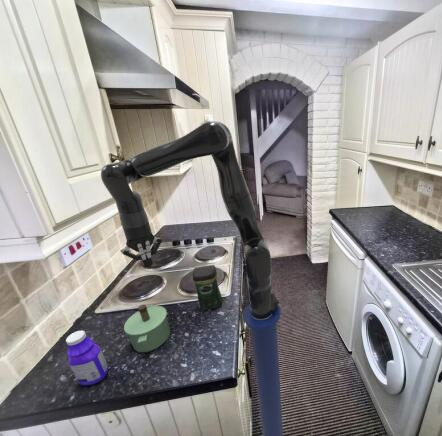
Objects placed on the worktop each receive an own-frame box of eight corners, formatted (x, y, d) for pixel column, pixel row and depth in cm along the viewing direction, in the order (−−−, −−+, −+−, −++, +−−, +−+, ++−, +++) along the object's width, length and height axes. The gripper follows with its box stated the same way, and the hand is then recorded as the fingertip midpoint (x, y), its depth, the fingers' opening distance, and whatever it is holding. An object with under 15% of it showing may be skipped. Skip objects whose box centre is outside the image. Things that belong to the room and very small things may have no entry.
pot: (172, 316, 94) (168, 299, 91) (167, 351, 79) (161, 333, 75) (139, 324, 90) (133, 308, 87) (126, 364, 75) (119, 345, 72)
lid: (169, 304, 89) (165, 290, 87) (164, 329, 78) (160, 314, 75) (130, 313, 85) (125, 299, 82) (119, 342, 74) (113, 326, 71)
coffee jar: (222, 296, 104) (216, 261, 97) (222, 308, 97) (215, 271, 90) (200, 300, 102) (192, 264, 95) (197, 312, 95) (189, 275, 88)
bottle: (113, 365, 74) (95, 325, 68) (104, 383, 69) (83, 341, 63) (87, 371, 73) (66, 330, 67) (76, 389, 68) (52, 347, 61)
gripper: (115, 232, 70) (131, 279, 76) (160, 219, 79) (171, 262, 85) (108, 226, 74) (124, 271, 80) (152, 214, 83) (162, 256, 90)
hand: (148, 266), depth 83 cm, fingers closed
